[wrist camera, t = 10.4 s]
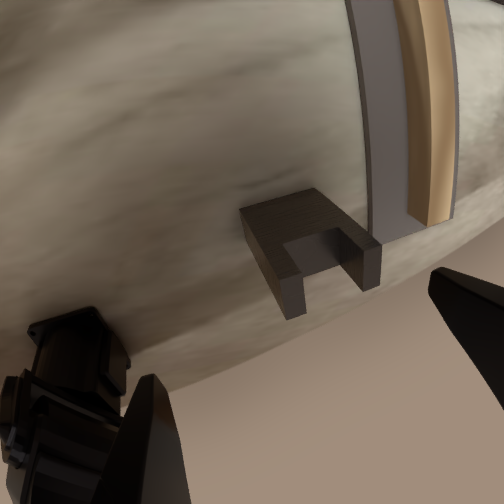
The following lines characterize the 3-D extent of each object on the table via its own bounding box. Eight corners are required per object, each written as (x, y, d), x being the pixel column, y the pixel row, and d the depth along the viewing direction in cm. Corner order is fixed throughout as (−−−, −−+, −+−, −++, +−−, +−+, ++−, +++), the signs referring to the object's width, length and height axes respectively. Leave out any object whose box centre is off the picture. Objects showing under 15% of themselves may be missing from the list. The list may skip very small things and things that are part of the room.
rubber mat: (368, 244, 24) (372, 248, 23) (307, -121, 8) (311, -125, 8) (448, 215, 25) (452, 218, 24) (412, -97, 9) (417, -98, 9)
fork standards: (246, 242, 21) (286, 320, 14) (170, -84, 9) (180, -157, 3) (318, 220, 21) (379, 285, 15) (258, -93, 10) (309, -155, 3)
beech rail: (407, 213, 22) (427, 227, 20) (364, -99, 9) (384, -110, 7) (429, 206, 23) (449, 219, 21) (391, -91, 9) (413, -100, 7)
